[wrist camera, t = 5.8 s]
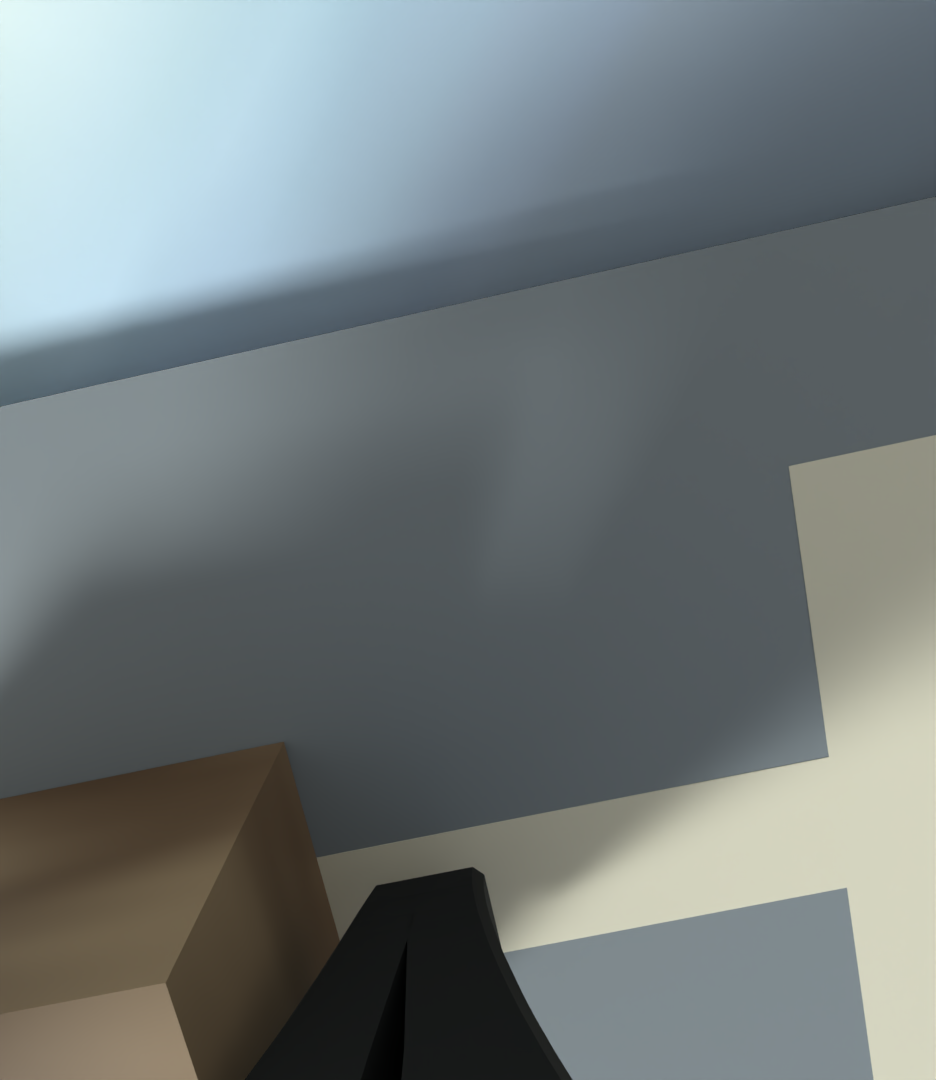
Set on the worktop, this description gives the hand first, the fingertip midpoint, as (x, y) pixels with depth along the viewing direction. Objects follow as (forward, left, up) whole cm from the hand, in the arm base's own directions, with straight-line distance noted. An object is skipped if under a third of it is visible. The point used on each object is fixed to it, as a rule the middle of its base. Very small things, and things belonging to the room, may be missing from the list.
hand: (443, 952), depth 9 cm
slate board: (-2, 0, -2) cm, 3 cm away
